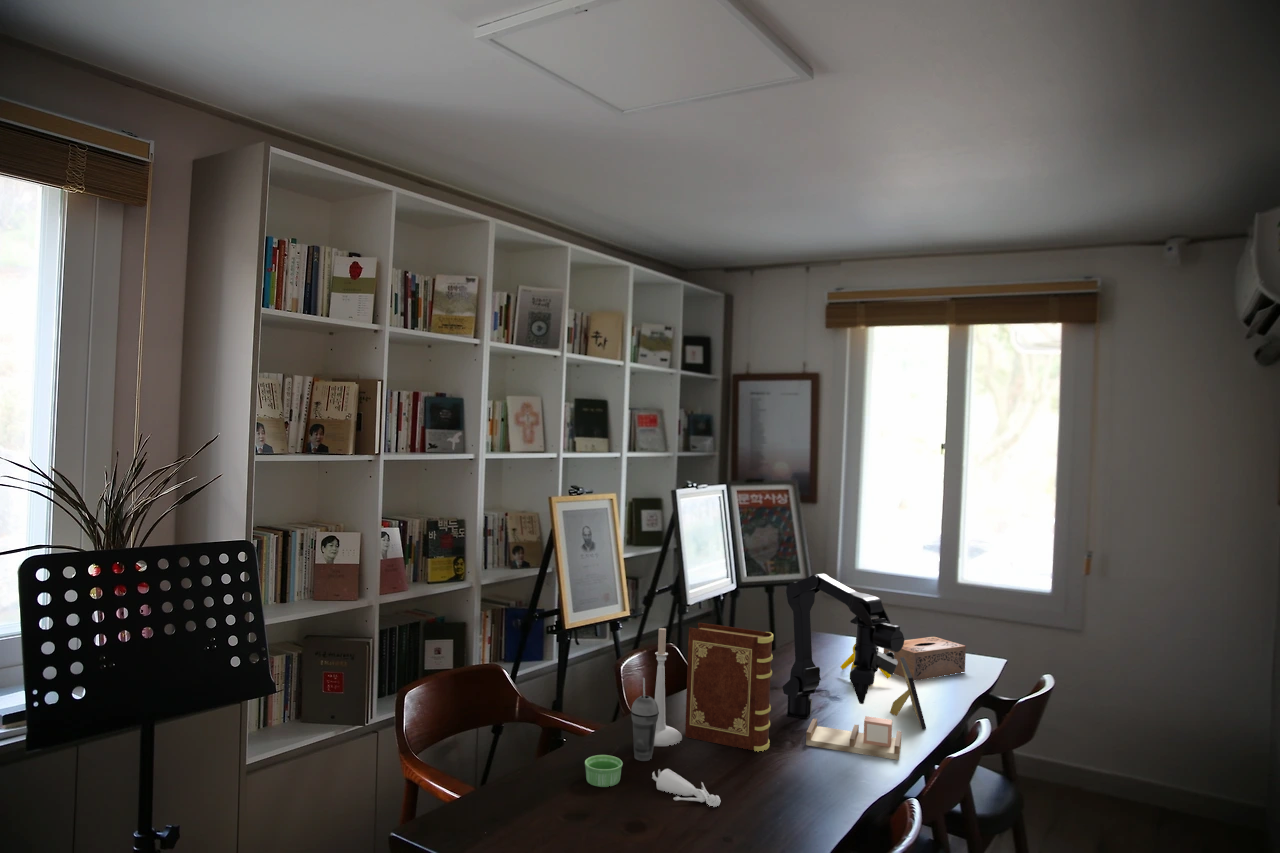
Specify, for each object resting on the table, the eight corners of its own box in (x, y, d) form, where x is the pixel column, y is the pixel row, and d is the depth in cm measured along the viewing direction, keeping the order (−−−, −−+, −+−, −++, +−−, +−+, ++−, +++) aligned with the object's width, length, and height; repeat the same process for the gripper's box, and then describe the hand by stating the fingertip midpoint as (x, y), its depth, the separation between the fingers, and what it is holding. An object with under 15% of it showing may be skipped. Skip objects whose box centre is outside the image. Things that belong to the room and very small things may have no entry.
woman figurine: (670, 758, 202) (734, 785, 191) (669, 777, 203) (732, 804, 191) (641, 773, 193) (706, 801, 182) (639, 792, 193) (704, 822, 182)
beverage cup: (637, 764, 209) (639, 684, 209) (624, 754, 215) (626, 676, 215) (662, 760, 212) (665, 681, 212) (649, 750, 218) (651, 673, 219)
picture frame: (926, 729, 241) (921, 677, 242) (894, 729, 243) (889, 678, 244) (916, 704, 264) (912, 656, 264) (887, 705, 266) (883, 657, 266)
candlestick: (666, 750, 219) (671, 635, 219) (625, 739, 226) (629, 627, 226) (690, 735, 230) (694, 626, 230) (650, 725, 237) (654, 619, 237)
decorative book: (772, 743, 226) (776, 632, 226) (764, 753, 219) (768, 638, 219) (695, 728, 236) (698, 621, 236) (684, 737, 229) (688, 627, 229)
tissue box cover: (913, 681, 290) (914, 652, 291) (882, 670, 303) (883, 642, 303) (964, 673, 303) (965, 645, 303) (933, 663, 316) (934, 636, 316)
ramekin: (585, 771, 204) (586, 753, 204) (622, 773, 203) (623, 755, 203) (582, 787, 195) (582, 768, 195) (620, 789, 194) (621, 770, 194)
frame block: (863, 743, 225) (864, 720, 225) (864, 738, 229) (865, 716, 229) (890, 747, 223) (891, 724, 223) (891, 742, 226) (892, 719, 227)
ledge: (806, 745, 226) (806, 732, 226) (812, 730, 238) (813, 718, 238) (898, 760, 218) (899, 746, 218) (901, 744, 229) (901, 731, 229)
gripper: (894, 655, 220) (891, 714, 220) (898, 638, 237) (895, 693, 238) (851, 649, 224) (847, 707, 224) (858, 633, 241) (855, 687, 242)
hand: (863, 698), depth 232 cm, fingers open, 9 cm apart
